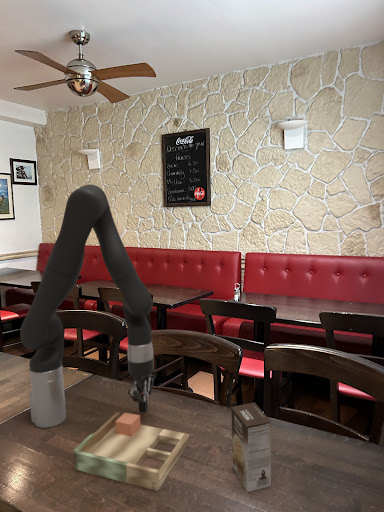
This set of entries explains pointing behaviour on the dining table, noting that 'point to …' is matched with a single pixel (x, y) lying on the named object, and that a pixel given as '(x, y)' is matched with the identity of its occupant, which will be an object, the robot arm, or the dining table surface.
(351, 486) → the dining table surface
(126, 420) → the block
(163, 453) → the box
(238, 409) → the coffee box
